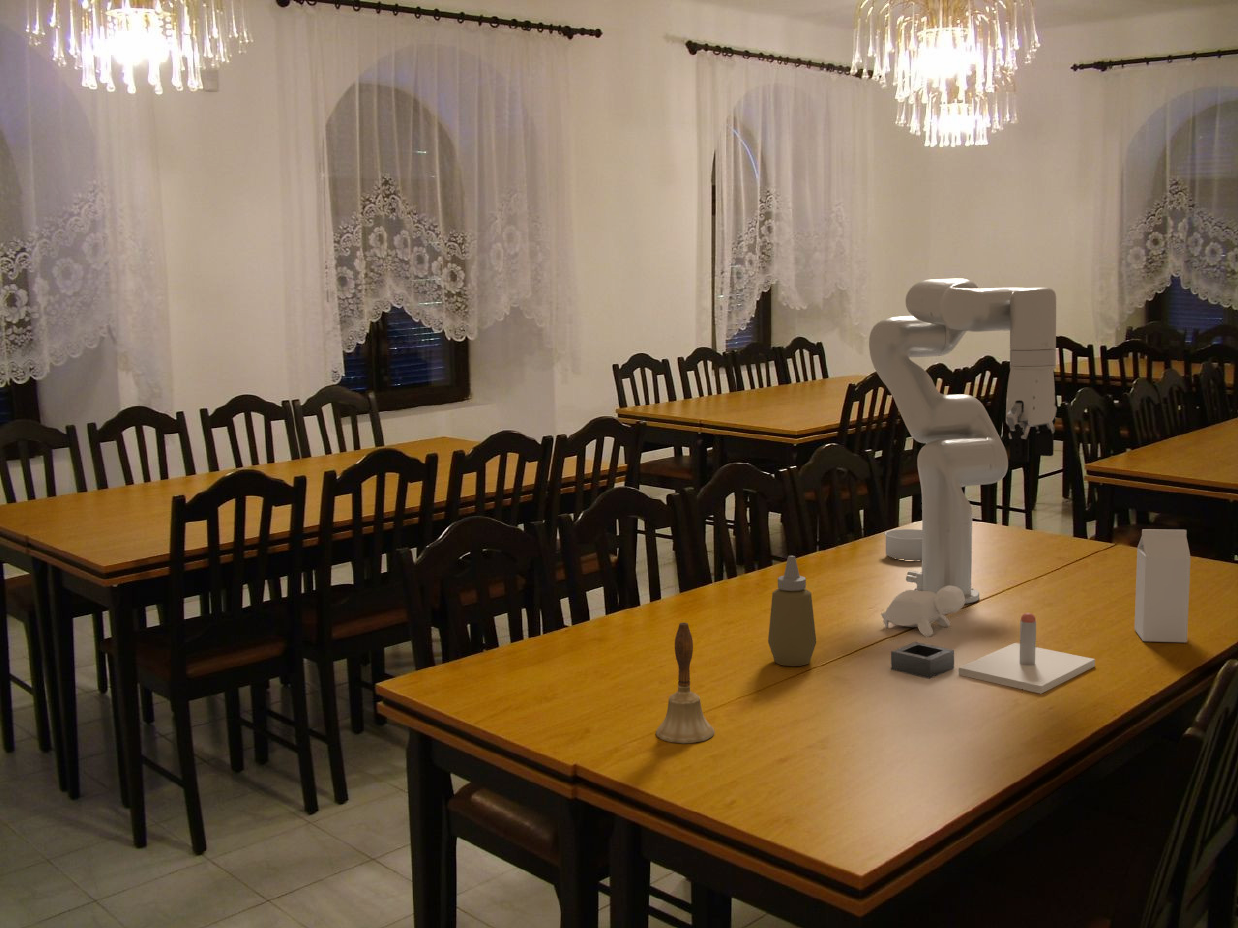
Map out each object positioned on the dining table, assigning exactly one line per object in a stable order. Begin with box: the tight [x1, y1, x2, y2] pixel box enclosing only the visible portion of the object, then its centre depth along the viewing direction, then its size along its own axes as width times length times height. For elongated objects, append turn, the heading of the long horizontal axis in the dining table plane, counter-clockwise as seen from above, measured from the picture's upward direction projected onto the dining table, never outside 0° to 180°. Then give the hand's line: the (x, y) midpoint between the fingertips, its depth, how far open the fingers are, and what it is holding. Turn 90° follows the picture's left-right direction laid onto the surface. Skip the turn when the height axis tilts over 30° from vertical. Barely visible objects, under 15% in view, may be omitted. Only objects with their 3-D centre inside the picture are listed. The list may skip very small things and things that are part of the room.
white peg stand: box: [958, 612, 1096, 695], centre depth 198 cm, size 14×18×10 cm
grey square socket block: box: [890, 641, 955, 679], centre depth 200 cm, size 7×7×3 cm
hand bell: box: [655, 622, 716, 744], centre depth 174 cm, size 8×8×16 cm
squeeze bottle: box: [767, 555, 817, 667], centre depth 205 cm, size 8×8×18 cm
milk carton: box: [1134, 528, 1191, 643], centre depth 213 cm, size 7×7×19 cm
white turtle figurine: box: [880, 586, 966, 638], centre depth 222 cm, size 9×8×15 cm
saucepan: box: [883, 528, 922, 560], centre depth 277 cm, size 12×20×6 cm, turn 42°
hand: (1031, 458), depth 215 cm, fingers open, 9 cm apart
